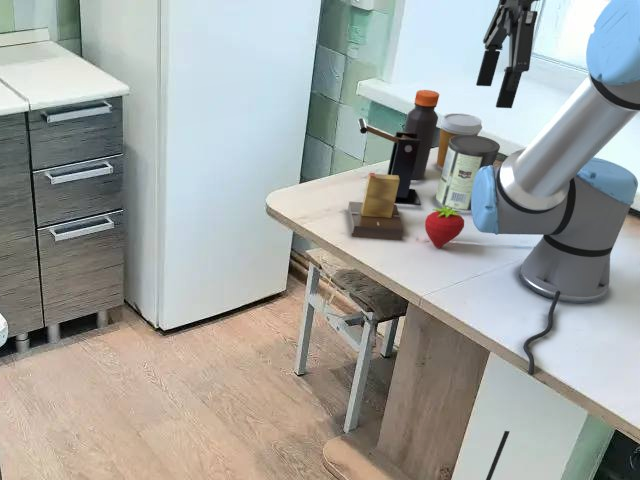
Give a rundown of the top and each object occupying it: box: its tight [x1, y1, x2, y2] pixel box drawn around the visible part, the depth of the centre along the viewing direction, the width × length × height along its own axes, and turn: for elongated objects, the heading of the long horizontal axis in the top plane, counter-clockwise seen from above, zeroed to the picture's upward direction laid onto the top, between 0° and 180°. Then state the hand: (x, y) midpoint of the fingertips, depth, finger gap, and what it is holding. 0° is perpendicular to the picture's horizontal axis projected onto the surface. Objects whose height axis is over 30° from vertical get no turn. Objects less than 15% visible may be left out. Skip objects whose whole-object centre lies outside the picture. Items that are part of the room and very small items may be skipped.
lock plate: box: [347, 201, 405, 241], centre depth 169 cm, size 12×10×3 cm
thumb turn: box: [361, 172, 400, 218], centre depth 166 cm, size 6×2×9 cm, turn 83°
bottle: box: [403, 89, 440, 182], centre depth 184 cm, size 7×7×20 cm
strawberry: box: [424, 204, 465, 249], centre depth 159 cm, size 6×8×10 cm
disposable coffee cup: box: [436, 112, 483, 169], centre depth 192 cm, size 10×10×12 cm
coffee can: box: [435, 135, 501, 211], centre depth 175 cm, size 10×10×14 cm
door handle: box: [357, 118, 410, 143], centre depth 172 cm, size 13×6×2 cm, turn 83°
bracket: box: [386, 130, 421, 206], centre depth 176 cm, size 10×8×15 cm
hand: (493, 96), depth 153 cm, fingers open, 13 cm apart
